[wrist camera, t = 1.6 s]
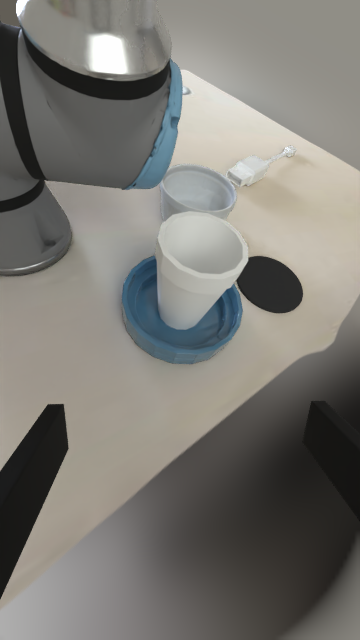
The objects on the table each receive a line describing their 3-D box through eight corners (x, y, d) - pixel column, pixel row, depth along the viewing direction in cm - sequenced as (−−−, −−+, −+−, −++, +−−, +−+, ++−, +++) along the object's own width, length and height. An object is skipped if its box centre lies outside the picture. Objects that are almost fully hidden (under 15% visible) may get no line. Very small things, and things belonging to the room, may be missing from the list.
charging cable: (297, 159, 71) (305, 146, 68) (239, 192, 54) (246, 176, 51) (283, 150, 72) (290, 138, 69) (222, 180, 55) (227, 164, 53)
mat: (225, 261, 43) (225, 260, 43) (279, 254, 47) (280, 252, 47) (256, 319, 38) (257, 318, 38) (314, 305, 42) (315, 304, 42)
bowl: (111, 277, 37) (110, 259, 34) (207, 263, 42) (214, 247, 39) (139, 379, 30) (141, 369, 27) (250, 348, 35) (262, 337, 32)
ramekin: (142, 221, 44) (144, 184, 38) (177, 189, 51) (184, 154, 45) (205, 256, 43) (218, 223, 37) (233, 219, 50) (248, 186, 44)
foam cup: (223, 316, 37) (265, 253, 26) (179, 353, 32) (207, 296, 21) (180, 275, 39) (202, 201, 28) (133, 304, 35) (138, 230, 24)
